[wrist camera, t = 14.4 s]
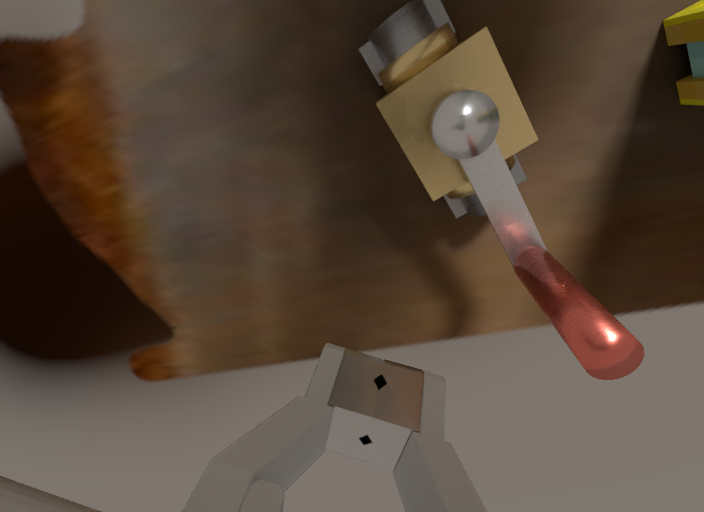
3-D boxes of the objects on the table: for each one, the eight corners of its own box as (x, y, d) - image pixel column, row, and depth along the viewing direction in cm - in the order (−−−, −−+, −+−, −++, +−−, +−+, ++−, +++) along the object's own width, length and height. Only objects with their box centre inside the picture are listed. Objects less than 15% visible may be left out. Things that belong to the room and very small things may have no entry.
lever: (419, 113, 24) (446, 132, 14) (477, 76, 23) (554, 66, 13) (508, 284, 28) (579, 392, 18) (561, 259, 27) (667, 361, 17)
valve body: (351, 56, 31) (340, 45, 23) (438, -10, 28) (460, -48, 20) (443, 213, 35) (461, 249, 28) (524, 168, 33) (568, 193, 25)
